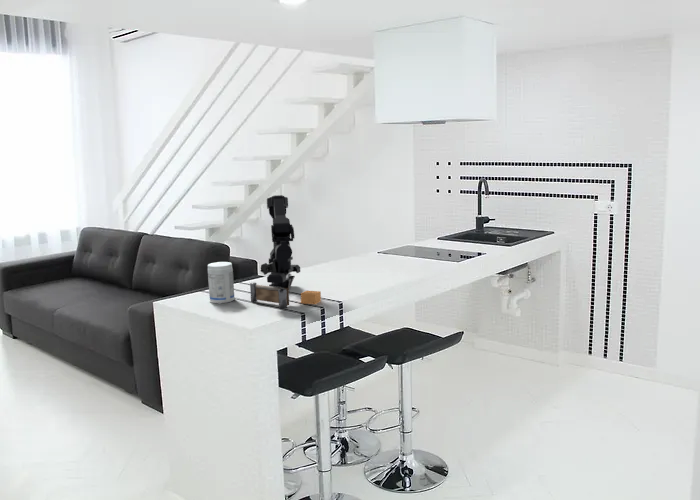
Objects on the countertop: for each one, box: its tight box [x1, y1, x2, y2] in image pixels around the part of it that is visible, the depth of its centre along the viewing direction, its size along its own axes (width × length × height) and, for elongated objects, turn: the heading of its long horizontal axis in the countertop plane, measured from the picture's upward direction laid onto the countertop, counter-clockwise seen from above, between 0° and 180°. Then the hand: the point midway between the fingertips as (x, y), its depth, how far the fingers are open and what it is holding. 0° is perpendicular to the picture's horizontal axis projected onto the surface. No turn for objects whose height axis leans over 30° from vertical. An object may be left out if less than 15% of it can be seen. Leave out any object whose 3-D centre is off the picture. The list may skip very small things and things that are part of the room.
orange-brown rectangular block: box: [300, 290, 322, 305], centre depth 250 cm, size 6×5×4 cm
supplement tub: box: [207, 261, 235, 304], centre depth 254 cm, size 10×10×15 cm
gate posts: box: [249, 282, 288, 310], centre depth 247 cm, size 19×3×7 cm, turn 48°
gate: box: [256, 284, 290, 307], centre depth 247 cm, size 15×1×6 cm, turn 57°
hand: (285, 295), depth 247 cm, fingers closed
